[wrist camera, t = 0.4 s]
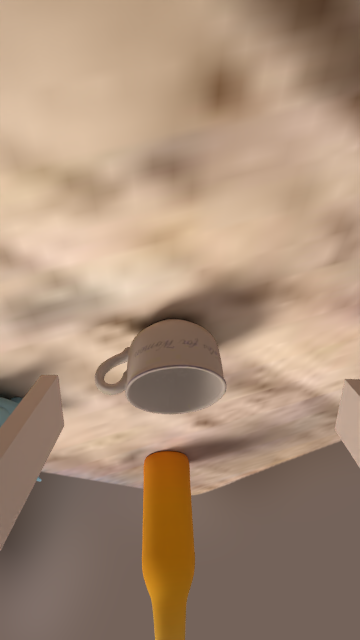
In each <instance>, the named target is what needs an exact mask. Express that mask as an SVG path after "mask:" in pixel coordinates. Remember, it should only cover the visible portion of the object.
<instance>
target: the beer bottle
mask: <svg viewBox="0 0 360 640" xmlns="http://www.w3.org/2000/svg"><path fill="white" fill-rule="evenodd" d="M143 498H144V499H143V543H142V569H143V576H144V579H145V583H146V586H147V589H148V591H149V594H150V597H151V600H152V605H153V616H154V628H155V640H185V618H186V602H187V597H188V593H189V590H190V586H191V583H192V580H193V575H194V568H195V552H194V538H193V524H192V507H191V490H190V468H189V461H188V458H187V456H186V455H184V454H183V453H180V452H175V451H162V452H157V453H153V454H151V455H149V456H148V457H147V458H146V459H145V462H144V497H143Z"/></svg>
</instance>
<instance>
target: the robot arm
mask: <svg viewBox="0 0 360 640" xmlns="http://www.w3.org/2000/svg"><path fill="white" fill-rule="evenodd" d="M63 427H64V420H63V412H62V403H61V395H60V387H59V379H58V375H41V376H40V377H39V379H38V380H37V381H36V383H35V384H34V385H33V386H32V388H31V389H30V390H29V392H28V393H27V394H26V395H25V397H24V398H23V399H22V401H21V402H20V403H19V404H18V406H17V407H16V408H15V410H14V411H13V412H12V413H11V415H10V416H9V417H8V419H7V420H6V421H5V422H4V424H3V425H2V426H1V427H0V551H1V549H2V547H3V545H4V543H5V541H6V539H7V537H8V535H9V533H10V531H11V529H12V527H13V525H14V523H15V521H16V519H17V517H18V515H19V513H20V511H21V509H22V507H23V505H24V504H25V502H26V500H27V498H28V496H29V494H30V492H31V490H32V488H33V486H34V484H35V482H36V480H37V478H38V476H39V474H40V472H41V470H42V468H43V466H44V464H45V462H46V460H47V458H48V456H49V454H50V452H51V451H52V449H53V447H54V445H55V443H56V441H57V439H58V437H59V435H60V433H61V431H62V429H63ZM335 430H336V432H337V434H338V435H339V437H340V438H341V440H342V441H343V443H344V444H345V446H346V447H347V449H348V450H349V452H350V454H351V455H352V457H353V458H354V459H355V461H356V463H357V464H358V466H359V467H360V380H359V379H345V381H344V386H343V391H342V396H341V401H340V406H339V411H338V416H337V421H336V426H335Z"/></svg>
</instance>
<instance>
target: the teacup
mask: <svg viewBox="0 0 360 640" xmlns="http://www.w3.org/2000/svg"><path fill="white" fill-rule="evenodd" d="M125 362H128V364H127V370H126V371H125V372H124V374H123V377H122V378H121V380H120V381H119V382H118V383H116V384H107V383H105V381H104V376H105V374H106V373H107V372H108V371H109V370H110V369H112V368H113V367H115V366H117V365H119V364H122V363H125ZM95 383H96V386H97V388H98V389H99V391H101V392H102V393H104V394H106V395H116V394H119V393H121V392H123V391H125V394H126V397H127V399H128V401H129V402H130V403H131V404H132V405H133V406H135V407H137V408H139V409H142V410H144V411H147V412H152V413H158V414H183V413H189V412H194V411H198V410H201V409H204V408H207V407H209V406H211V405H213V404H214V403H216V402H217V401H218V400H219V399H221V398H222V396H223V395H224V394H225V392H226V382H225V380H224V377H223V370H222V363H221V358H220V354H219V349H218V346H217V343H216V341H215V339H214V337H213V336H212V335H211V334H210V333H209V332H208V331H207V330H206V329H205V328H203V327H201V326H199V325H197V324H195V323H192V322H189V321H186V320H180V319H168V320H163V321H159V322H157V323H154V324H153V325H151V326H149V327H147V328H145V329H143V330H142V331H141V332H140V333H139V334H138V335H137V336H136V337H135V338H134V340H133V342H132V344H131V346H130V347H127V348H125V350H124V351H123V352H122V353H120V354H117V355H115V356H113V357H111V358H109V359H108V360H106V361H105V362H103V363H102V364H101V365H100V366H99V367H98V369H97V371H96V373H95Z"/></svg>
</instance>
